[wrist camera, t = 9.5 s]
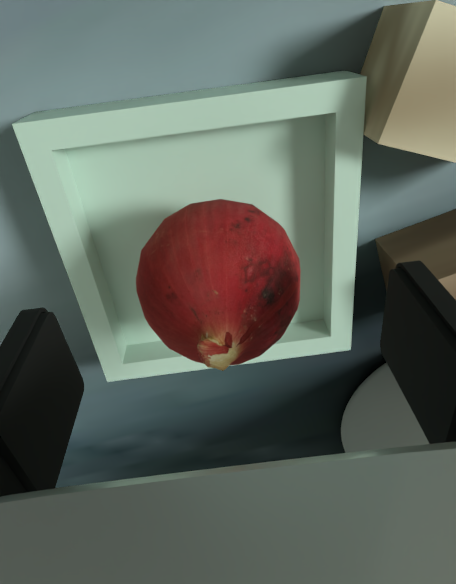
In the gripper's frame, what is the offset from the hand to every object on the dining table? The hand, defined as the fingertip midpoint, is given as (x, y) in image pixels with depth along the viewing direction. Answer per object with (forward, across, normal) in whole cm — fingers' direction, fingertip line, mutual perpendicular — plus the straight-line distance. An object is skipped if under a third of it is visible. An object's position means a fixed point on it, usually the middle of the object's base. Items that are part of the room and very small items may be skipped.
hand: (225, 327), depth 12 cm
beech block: (+9, -9, -4) cm, 13 cm away
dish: (+8, 0, +1) cm, 8 cm away
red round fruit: (+7, 0, +1) cm, 7 cm away
